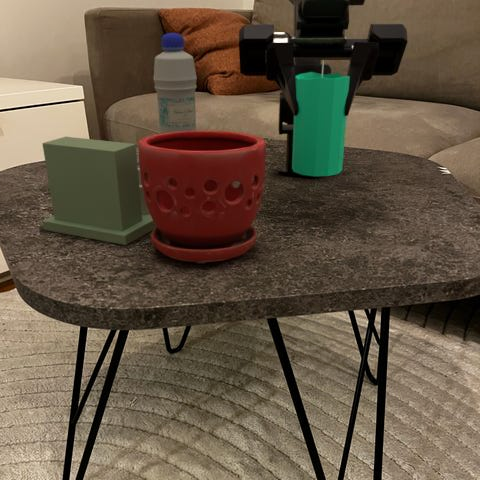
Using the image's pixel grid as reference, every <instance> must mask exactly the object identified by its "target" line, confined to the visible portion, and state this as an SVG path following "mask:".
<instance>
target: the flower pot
mask: <svg viewBox="0 0 480 480" xmlns="http://www.w3.org/2000/svg"><path fill="white" fill-rule="evenodd" d="M266 161H267V143H266V141H265V140H264V139H263V138H261V137H260V136H256V135H253V134H249V133H244V132H236V131H225V130H224V131H223V130H196V131H181V132H170V133H163V134H160V133H157V134H152V135H149V136H145V137H143V138H142V139H141V140H139V142H138V165H139V166H138V167H139V168H140V175H141V184H142V188H143V192H144V197H145V202H146V205H147V208H148V210H149V213H150V215H151V217H152V219H153V221H154V223H155V224H156V226H157V227H156V228H155V229H154V230H152V231H151V233H150V239H151V243H152V245H153V246H154V248H156V249H157V251H159V252H160V253H162V254H163V255H164V256H167V257H169V258H171V259H175V260H178V261H182V262H188V263H189V262H190V263H196V264H197V265H204V264H206V263H214V262H221V261H226V260H231V259H235V258H237V257H240V256H242V255H244V254H245V253H246V252H248V251H249V250H250V249H251V248H252V247H253V246H254V245H255V243H256V240H257V238H258V232H257V230H256V228H255V227H254V226H252V224H253V223H254V220H255V218H256V216H257V215H258V211H259V209H260V206H261V202H262V198H263V192H264V186H265V178H266V165H267V162H266ZM234 182H239V184H238V186H236V187H235V186H234V184H233V183H234Z"/></svg>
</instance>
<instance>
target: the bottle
mask: <svg viewBox="0 0 480 480" xmlns="http://www.w3.org/2000/svg"><path fill="white" fill-rule="evenodd" d="M160 43H161V49H162V50H163V51H162V52H161V53H159V54H157V55H156V56H155V57H154V63H153V64H154V65H153V82H154V90H155V92H156V95H157V96H156V97H157V113H158V123H159V124H158V126H159V134H163V133H170V132H181V131H197V117H196V116H197V113H196V95H195V94H196V89H197V87H198V86H197V79H198V77H197V73H196V66H195V61H194V56H193V55H191V54H190V53H187V52H186V51H184V50H185V39H184V37H183V35H182V34H180V33H177V32H169V33H168V32H167V33H165V34H164V35H162V37H161V42H160Z"/></svg>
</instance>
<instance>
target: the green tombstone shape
mask: <svg viewBox="0 0 480 480" xmlns="http://www.w3.org/2000/svg"><path fill="white" fill-rule="evenodd" d="M42 149H43V150H42V151H43V155H44V162H45V168H46V176H47V180H48V186H49V194H50V199H51V205H52V212H53V216H51V217H48V218H46V219H44V220H42V226H43V231H48V232H53V233H59V234H63V235H64V234H65V235H70V236H74V237H80V238H84V239H85V238H86V239H91V240H97V241H101V242H107V243H112V244H119V245H124V246H127V245H129V244H131V243H133V242H134V241H137V240H138V239H140V238H142V237H143V236H145V235H147V234H148V233H150V232H152V231H153V230H154V229H155V228H156V227H157V226H156V224H155V223H154V221H153V219H152V217H151V215H150V213H149V210H148V208H147V205H146V202H145V197H144V192H143V188H142V184H141V175H140V167H139V166H138V165H139V164H138V156H137V153H138V152H137V145H136V143H130V142H121V141H110V140H102V139H91V138H83V137H72V136H62V137H59V138H56V139H53V140H48V141H45V142H42Z"/></svg>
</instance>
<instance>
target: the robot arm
mask: <svg viewBox="0 0 480 480" xmlns="http://www.w3.org/2000/svg"><path fill="white" fill-rule="evenodd" d="M288 1H289V3H290V4H292V6H293V35H292V36H291V35H290V33H288V32H286V31H275V29H274V28H275V24H272V23H271V24H267V23H266V24H265V23H264V24H260V23H259V24H243V25H242V26H241V28H239V30H238V54H239V55H238V56H239V57H238V58H239V73H240V74H242V75H243V76H245V77H265V79H266V80H267V81H270V82H275V84H276V86H277V87H278V88H279V90H280V92H279V100H278V101H279V103H278V127H277V128H278V135H281V136H282V135H286V149H285V150H286V151H285V165H284V166H282V167H280V168H279V169H277V174H281V175H289V176H298V177H305V178H315V179H316V178H318V177H319V176H308V175H301V174H299V173H296V172H294V171H293V169H292V152H293V126H294V116H297V115H298V102H297V99H296V79H295V76H297V75H299V74H303V73H308V72H314V73H319V74H322V61H323V60H324V61H349V65H348V68H347V75H346V76H350V80H349V91H348V95H347V98H346V104H345V116H347V117H348V116H349V115H350V112H351V108H352V104H353V102H354V99H355V96H356V94H357V92H358V90H359V89H360V87H361V85H362V83H363V82H368V81H370V80H371V79H373V76H375V77H376V76H377V77H380V76H381V77H383V76H385V77H386V76H387V77H388V76H389V77H390V76H391V77H392V76H394V75H396V74H397V73H398V71H399V69H400V65H401V63H402V60H403V56H404V54H405V52H406V47H407V44H408V29H407V28H406V26H405V25H404V24H403V23H370V25H369V30H368V34H367V38H348V37H347V36H346V30H348V29H349V26H350V6H364V5H365V2H366V0H288ZM323 74H324V75H325V74H332V68H331V66H330V65H329V64H326V63H324V67H323Z"/></svg>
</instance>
